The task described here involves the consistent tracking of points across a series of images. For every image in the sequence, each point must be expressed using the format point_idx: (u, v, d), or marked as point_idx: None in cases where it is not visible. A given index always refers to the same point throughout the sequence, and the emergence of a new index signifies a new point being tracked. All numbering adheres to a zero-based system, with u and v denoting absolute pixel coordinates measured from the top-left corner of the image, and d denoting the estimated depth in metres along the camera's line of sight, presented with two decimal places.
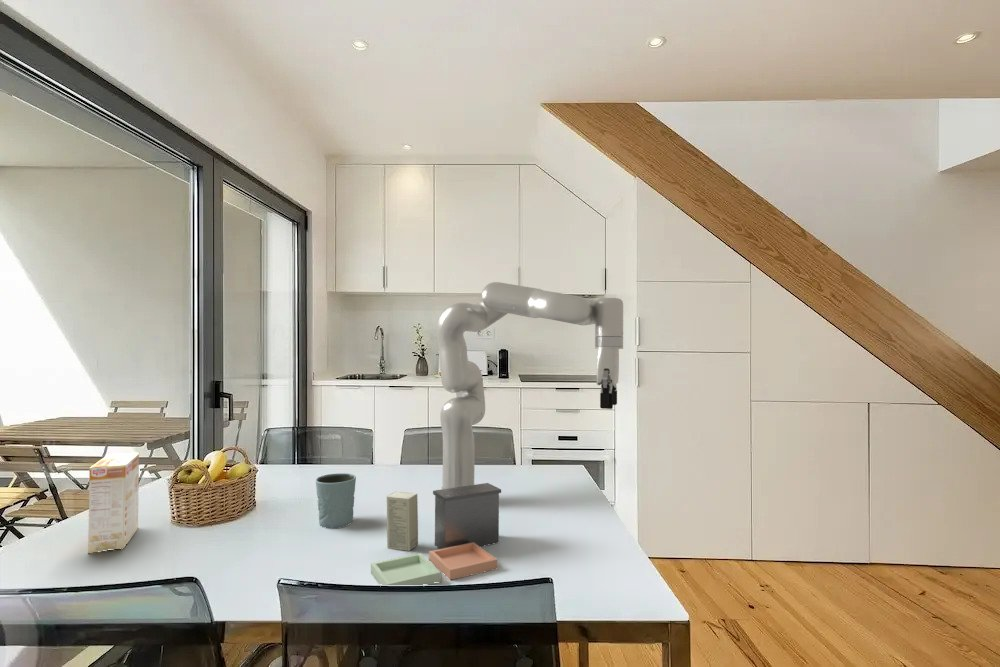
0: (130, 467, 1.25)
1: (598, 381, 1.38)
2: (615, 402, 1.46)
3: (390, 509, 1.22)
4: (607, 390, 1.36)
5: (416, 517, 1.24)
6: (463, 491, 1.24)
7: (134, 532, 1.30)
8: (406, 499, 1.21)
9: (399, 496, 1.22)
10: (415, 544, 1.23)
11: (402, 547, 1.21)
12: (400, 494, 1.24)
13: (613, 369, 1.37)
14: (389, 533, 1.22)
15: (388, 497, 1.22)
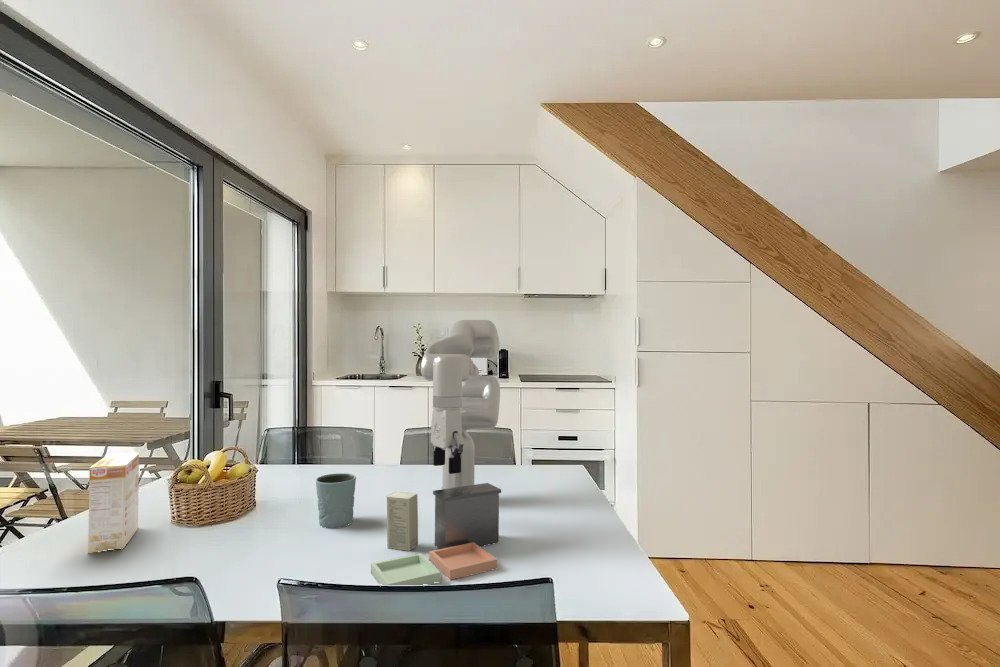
0: (130, 467, 1.25)
1: (447, 445, 1.31)
2: (444, 462, 1.40)
3: (390, 509, 1.22)
4: (459, 454, 1.30)
5: (416, 517, 1.24)
6: (463, 491, 1.24)
7: (134, 532, 1.30)
8: (406, 499, 1.21)
9: (399, 496, 1.22)
10: (415, 544, 1.23)
11: (402, 547, 1.21)
12: (400, 494, 1.24)
13: (461, 431, 1.33)
14: (389, 533, 1.22)
15: (388, 497, 1.22)
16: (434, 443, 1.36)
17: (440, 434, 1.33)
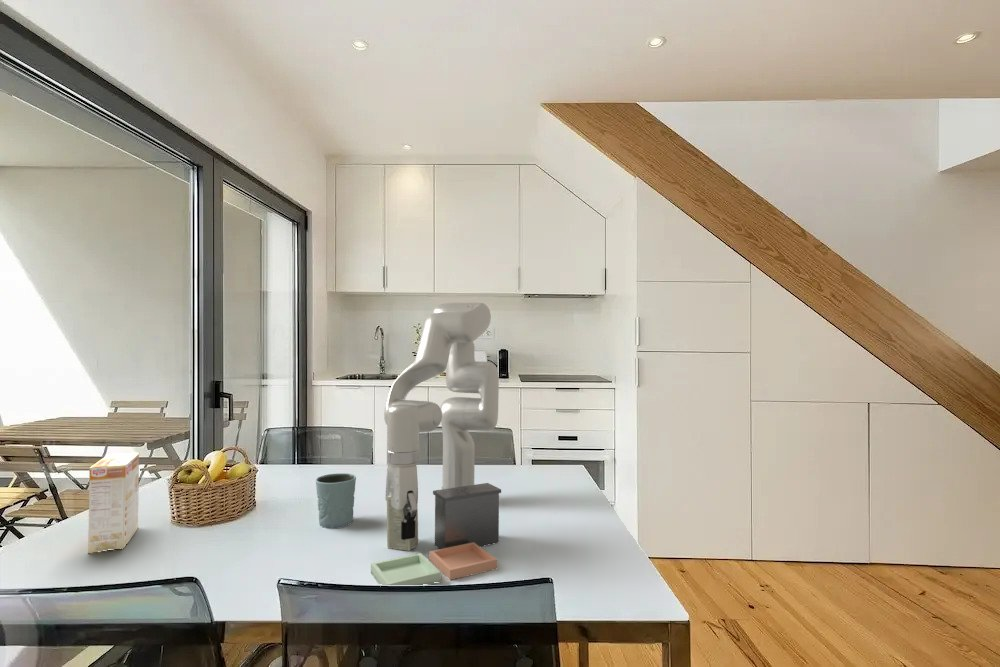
0: (130, 467, 1.25)
1: (401, 507, 1.18)
2: None
3: (390, 509, 1.22)
4: (413, 518, 1.19)
5: (416, 517, 1.24)
6: (463, 491, 1.24)
7: (134, 532, 1.30)
8: None
9: None
10: (415, 544, 1.23)
11: (402, 547, 1.21)
12: None
13: (417, 490, 1.20)
14: (389, 533, 1.22)
15: (388, 497, 1.22)
16: None
17: (394, 493, 1.20)
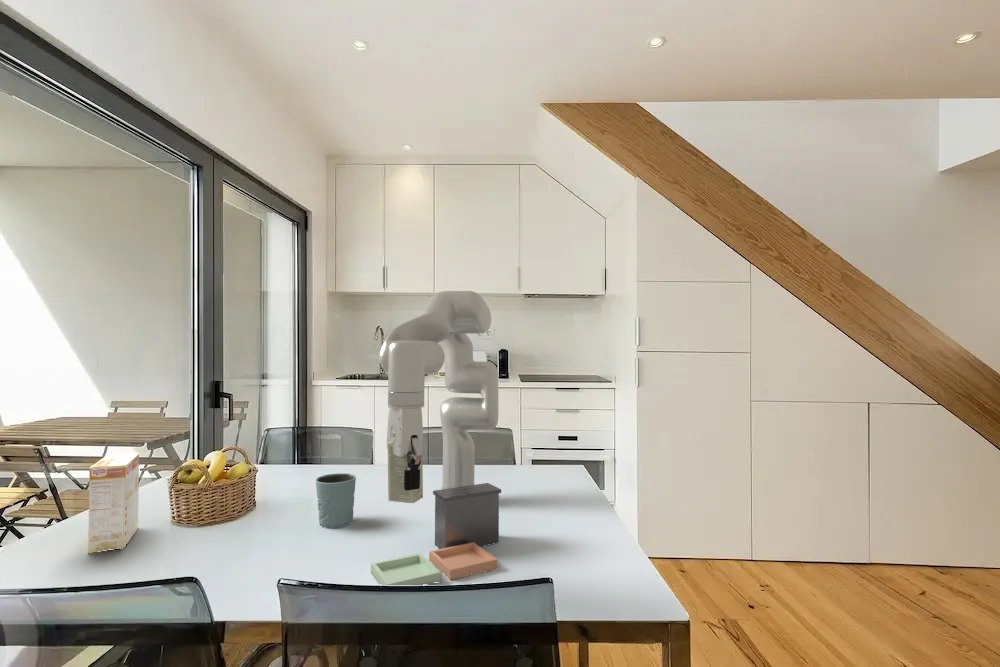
0: (130, 467, 1.25)
1: (403, 453, 1.04)
2: None
3: (391, 457, 1.08)
4: (417, 466, 1.05)
5: (421, 467, 1.10)
6: (463, 491, 1.24)
7: (134, 532, 1.30)
8: None
9: None
10: (419, 497, 1.09)
11: (405, 499, 1.07)
12: None
13: (422, 435, 1.07)
14: (390, 484, 1.08)
15: (389, 444, 1.09)
16: None
17: (396, 439, 1.07)
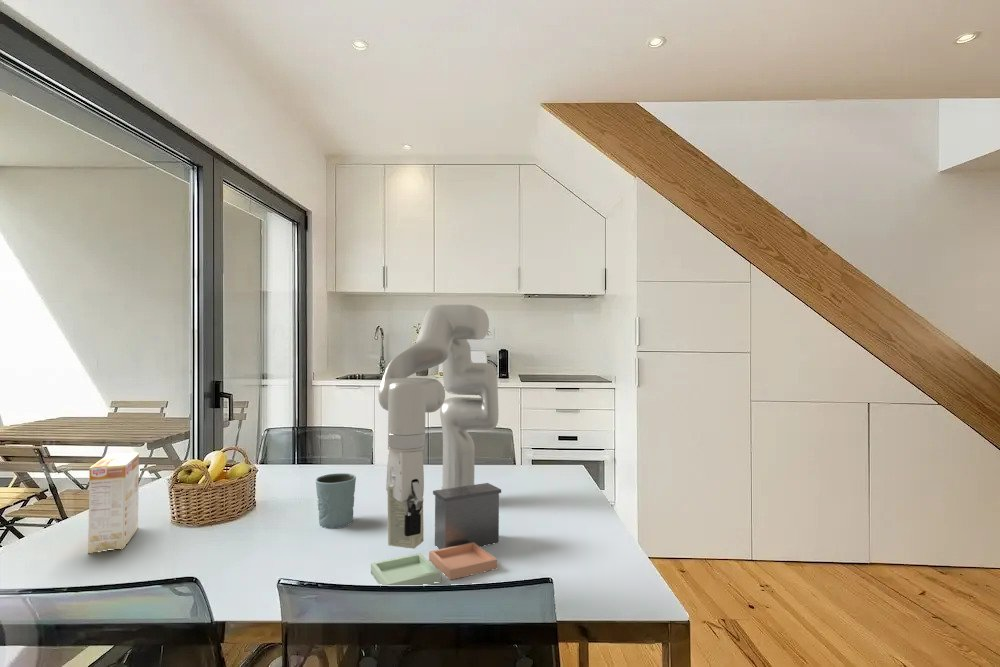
0: (130, 467, 1.25)
1: (404, 498, 1.02)
2: None
3: (391, 501, 1.06)
4: (418, 511, 1.02)
5: (421, 510, 1.07)
6: (463, 491, 1.24)
7: (134, 532, 1.30)
8: None
9: None
10: (420, 541, 1.07)
11: (405, 544, 1.05)
12: None
13: (422, 479, 1.04)
14: (390, 528, 1.06)
15: (389, 487, 1.06)
16: None
17: (396, 483, 1.04)
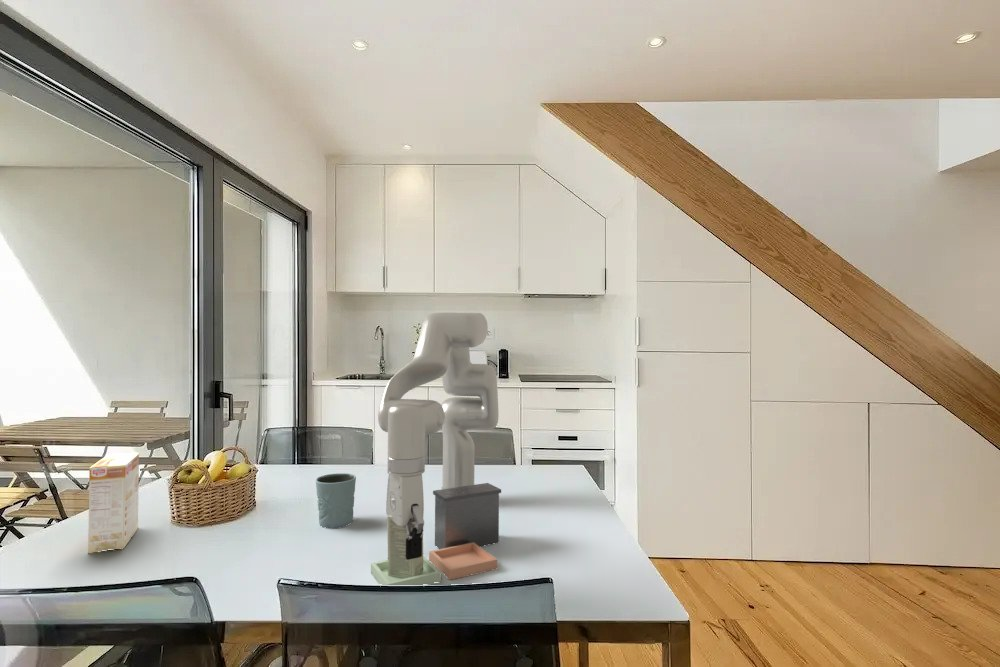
0: (130, 467, 1.25)
1: (404, 523, 1.02)
2: None
3: (391, 531, 1.06)
4: (419, 535, 1.02)
5: None
6: (463, 491, 1.24)
7: (134, 532, 1.30)
8: None
9: None
10: (420, 571, 1.07)
11: (405, 575, 1.05)
12: None
13: (422, 503, 1.04)
14: (390, 558, 1.06)
15: (389, 517, 1.06)
16: None
17: (396, 507, 1.04)
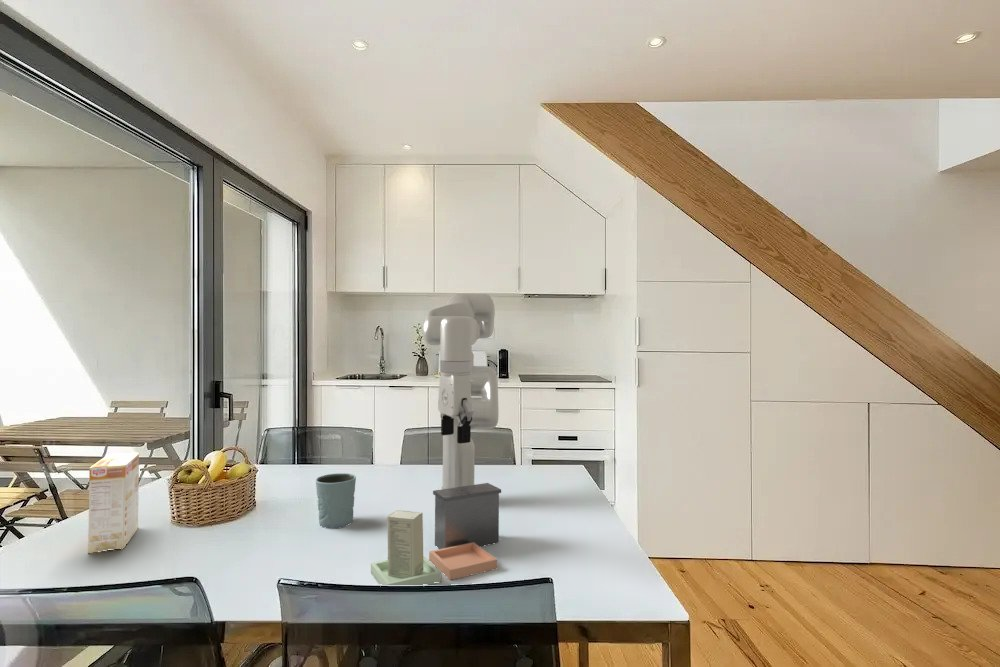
0: (130, 467, 1.25)
1: (455, 413, 1.21)
2: (452, 431, 1.31)
3: (391, 531, 1.06)
4: (469, 423, 1.21)
5: (421, 540, 1.08)
6: (463, 491, 1.24)
7: (134, 532, 1.30)
8: (410, 520, 1.05)
9: (402, 516, 1.06)
10: (420, 571, 1.07)
11: (405, 575, 1.05)
12: (403, 513, 1.08)
13: (470, 398, 1.23)
14: (390, 558, 1.06)
15: (389, 517, 1.06)
16: (442, 410, 1.27)
17: (448, 401, 1.23)
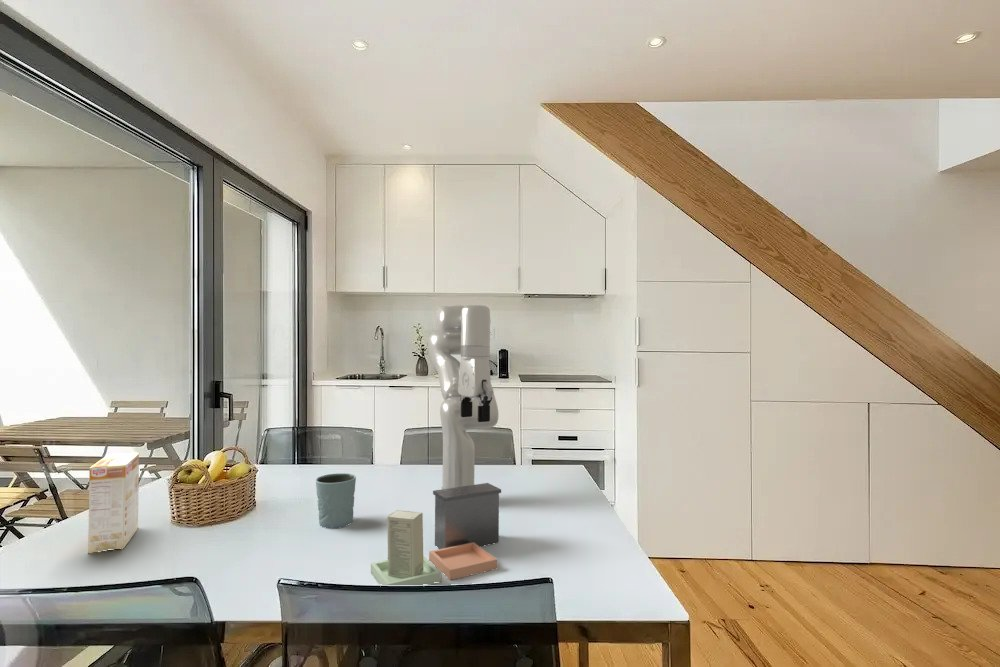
0: (130, 467, 1.25)
1: (476, 393, 1.30)
2: (471, 414, 1.40)
3: (391, 531, 1.06)
4: (489, 402, 1.30)
5: (421, 540, 1.08)
6: (463, 491, 1.24)
7: (134, 532, 1.30)
8: (410, 520, 1.05)
9: (402, 516, 1.06)
10: (420, 571, 1.07)
11: (405, 575, 1.05)
12: (403, 513, 1.08)
13: (490, 380, 1.32)
14: (390, 558, 1.06)
15: (389, 517, 1.06)
16: (462, 393, 1.36)
17: (469, 383, 1.32)
